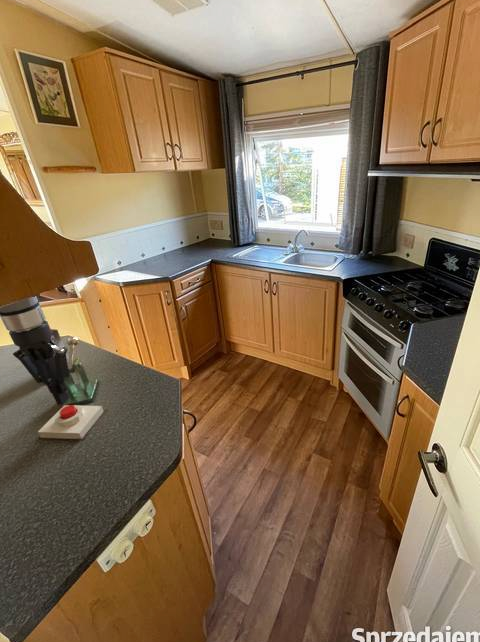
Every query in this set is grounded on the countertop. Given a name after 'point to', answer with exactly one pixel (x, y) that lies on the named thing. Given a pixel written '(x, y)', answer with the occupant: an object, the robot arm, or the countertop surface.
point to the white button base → (71, 423)
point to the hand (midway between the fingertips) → (63, 401)
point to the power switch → (80, 386)
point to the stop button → (68, 412)
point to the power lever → (71, 352)
